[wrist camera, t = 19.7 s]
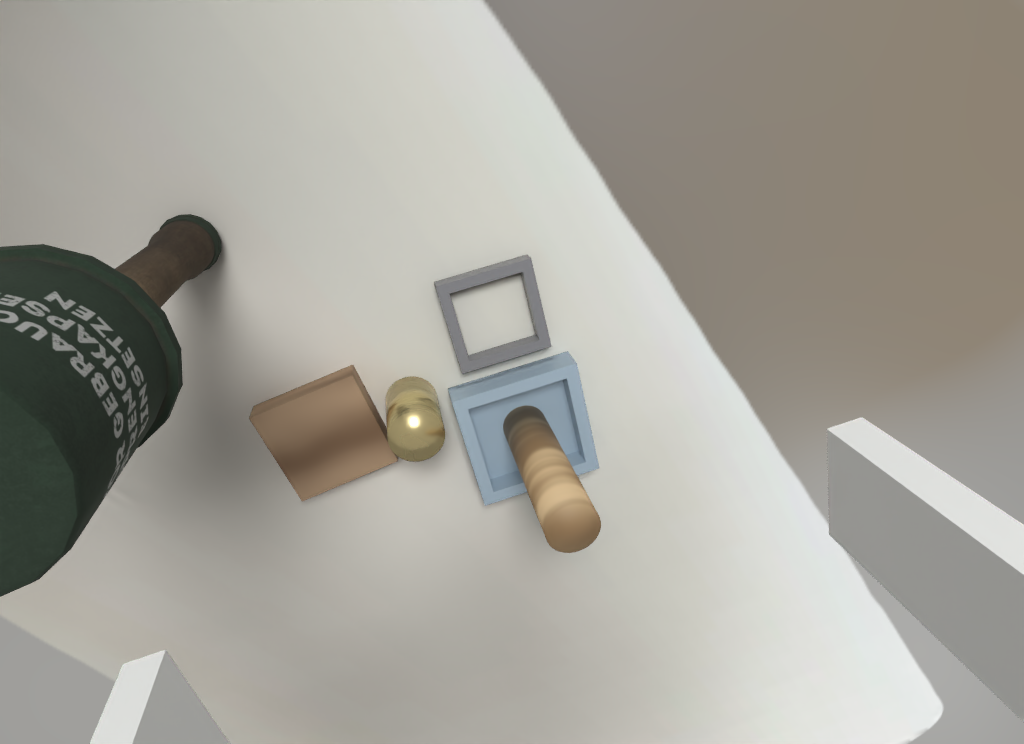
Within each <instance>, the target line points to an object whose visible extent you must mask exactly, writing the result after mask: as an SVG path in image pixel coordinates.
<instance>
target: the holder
mask: <svg viewBox="0 0 1024 744" xmlns="http://www.w3.org/2000/svg"><path fill="white" fill-rule="evenodd" d="M517 273H521V276H522V280H523V284H524V288H525V293H526V297H527V301H528V305H529V309H530V313H531V317H532V322H533V326H534V330H535V334H536V335H534V336H530V337H527V338H524V339H520V340H517V341H514V342H511V343H507V344H504V345H501V346H498V347H494V348H491V349H488V350H485V351H481V352H478V353H475V354H472V355H468V354H467V351H466V348H465V344H464V341H463V338H462V334H461V331H460V328H459V324H458V321H457V318H456V314H455V311H454V307H453V304H452V301H451V297H450V293H453V292H457V291H460V290H464V289H467V288H470V287H474V286H477V285H480V284H484V283H487V282H490V281H494V280H497V279H500V278H504V277H507V276H511V275H514V274H517ZM434 283H435V287H436V290H437V293H438V297H439V300H440V303H441V306H442V310H443V313H444V316H445V319H446V323H447V326H448V329H449V332H450V336H451V339H452V342H453V346H454V349H455V352H456V355H457V359H458V362H459V365H460V368H461V371H462V374H464V373H467V372H470V371H473V370H477V369H480V368H483V367H486V366H489V365H493V364H496V363H499V362H502V361H506V360H509V359H512V358H515V357H519V356H522V355H525V354H528V353H531V352H535V351H538V350H541V349H544V348H548V347H551V343H550V338H549V334H548V330H547V325H546V321H545V317H544V312H543V308H542V304H541V299H540V295H539V291H538V287H537V282H536V278H535V274H534V269H533V265H532V261H531V258H530V257H529V256H528V255H524V256H521V257H517V258H514V259H511V260H507V261H504V262H500V263H497V264H494V265H490V266H487V267H484V268H480V269H477V270H473V271H470V272H467V273H463V274H460V275H456V276H453V277H450V278H446V279H443V280H440V281H436V282H434Z"/></svg>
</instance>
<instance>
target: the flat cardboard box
mask: <svg viewBox="0 0 1024 744" xmlns="http://www.w3.org/2000/svg"><path fill="white" fill-rule="evenodd" d="M249 419H250V421H251V422H252V424H253V425H254V427H255V428H256V430H257V432H258V433H259V435H260V436H261V438H262V439H263V441H264V443H265V444H266V446H267V447H268V449H269V450H270V452H271V453H272V455H273V457H274V458H275V460H276V461H277V463H278V464H279V466H280V468H281V469H282V471H283V472H284V474H285V475H286V477H287V479H288V480H289V482H290V483H291V485H292V486H293V488H294V489H295V491H296V493H297V494H298V496H299V497H300V499H301V500H302V501H304V500H307V499H309V498H311V497H314V496H316V495H318V494H321V493H323V492H326V491H328V490H330V489H333V488H335V487H337V486H340V485H342V484H345V483H347V482H349V481H352V480H354V479H356V478H359V477H361V476H363V475H366V474H368V473H371V472H373V471H375V470H378V469H380V468H382V467H385V466H387V465H390V464H392V463H394V462H397V461H398V456H397V455H395V454H394V453H393V451H392V450H391V448H390V446H389V443H388V435H387V428H386V426H385V424H384V422H383V420H382V418H381V417H380V415H379V413H378V411H377V409H376V407H375V405H374V403H373V401H372V400H371V398H370V396H369V394H368V392H367V390H366V388H365V386H364V384H363V383H362V381H361V379H360V377H359V375H358V373H357V371H356V369H355V367H354V366H353V365H351V366H348V367H346V368H344V369H341V370H339V371H337V372H334V373H332V374H329V375H327V376H325V377H322V378H320V379H317V380H315V381H313V382H310V383H308V384H305V385H303V386H301V387H298V388H296V389H293V390H291V391H289V392H286V393H284V394H282V395H279V396H277V397H274V398H272V399H270V400H267V401H265V402H262V403H260V404H258V405H255V406H254V407H253V409H252V412H251V415H250V417H249Z"/></svg>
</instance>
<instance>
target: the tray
mask: <svg viewBox="0 0 1024 744" xmlns="http://www.w3.org/2000/svg"><path fill="white" fill-rule="evenodd" d="M448 390H449V394H450V397H451V401H452V404H453V408H454V411H455V414H456V417H457V420H458V423H459V426H460V429H461V432H462V436H463V439H464V442H465V445H466V448H467V451H468V454H469V457H470V460H471V464H472V467H473V470H474V473H475V476H476V479H477V482H478V485H479V488H480V492H481V495H482V498H483V501H484V504H485V506H486V505H489V504H492V503H495V502H498V501H501V500H504V499H507V498H510V497H513V496H516V495H519V494H522V493H525V492H527V489H526V487H525V484H524V482H523V479H522V477H521V474H520V472H519V469H518V467H517V464H516V462H515V459H514V457H513V454H512V452H511V449H510V447H509V444H508V442H507V439H506V437H505V434H504V431H503V423H504V420H505V418H506V416H507V415H508V414H509V413H510V412H511V411H512V410H513V409H515V408H517V407H520V406H525V405H528V406H534V407H536V408H538V409H539V410H540V411H541V412H542V413H543V414H544V416H545V418H546V420H547V422H548V423H549V425H550V427H551V429H552V431H553V433H554V434H555V436H556V438H557V440H558V442H559V444H560V445H561V447H562V449H563V451H564V453H565V455H566V456H567V458H568V460H569V462H570V464H571V466H572V467H573V469H574V471H575V473H576V475H580V474H583V473H586V472H589V471H592V470H595V469H598V468H599V464H598V460H597V455H596V450H595V446H594V441H593V436H592V432H591V427H590V423H589V418H588V413H587V409H586V404H585V399H584V395H583V390H582V385H581V381H580V376H579V372H578V367H577V363H576V362H575V360H574V359H573V358H572V356H571V355H570V354H569V353H568V351H567V352H564V353H561V354H558V355H554V356H551V357H548V358H545V359H541V360H538V361H535V362H532V363H529V364H525V365H522V366H519V367H516V368H513V369H509V370H506V371H503V372H500V373H496V374H493V375H490V376H487V377H484V378H480V379H477V380H474V381H471V382H467V383H464V384H461V385H458V386H455V387H451V388H448Z"/></svg>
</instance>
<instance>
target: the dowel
mask: <svg viewBox="0 0 1024 744" xmlns="http://www.w3.org/2000/svg"><path fill="white" fill-rule="evenodd" d="M503 431H504V434H505V437H506V439H507V442H508V444H509V447H510V449H511V452H512V454H513V457H514V459H515V462H516V464H517V467H518V469H519V472H520V474H521V477H522V479H523V482H524V484H525V487H526V489H527V492H528V494H529V497H530V499H531V502H532V504H533V507H534V509H535V512H536V514H537V517H538V519H539V522H540V524H541V527H542V529H543V532H544V534H545V537H546V539H547V542H548V543H549V545H550V546H551V547H552V548H554V549H555V550H557V551H560V552H564V553H572V552H577V551H580V550H582V549H584V548H586V547H588V546H589V545H590V544H591V543H592V542H593V541H594V540H595V539H596V538H597V536H598V534H599V532H600V528H601V521H600V517H599V515H598V513H597V512H596V510H595V508H594V506H593V504H592V502H591V501H590V499H589V497H588V495H587V493H586V491H585V490H584V488H583V486H582V484H581V482H580V480H579V479H578V477H577V475H576V473H575V471H574V469H573V467H572V466H571V464H570V462H569V460H568V458H567V456H566V455H565V453H564V451H563V449H562V447H561V445H560V444H559V442H558V440H557V438H556V436H555V434H554V433H553V431H552V429H551V427H550V425H549V423H548V422H547V420H546V418H545V416H544V414H543V413H542V412H541V411H540V410H539V409H538V408H536V407H534V406H528V405H525V406H520V407H517V408H515V409H513V410H512V411H511V412H510V413H509V414H508V415H507V416H506V418H505V420H504V423H503Z"/></svg>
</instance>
